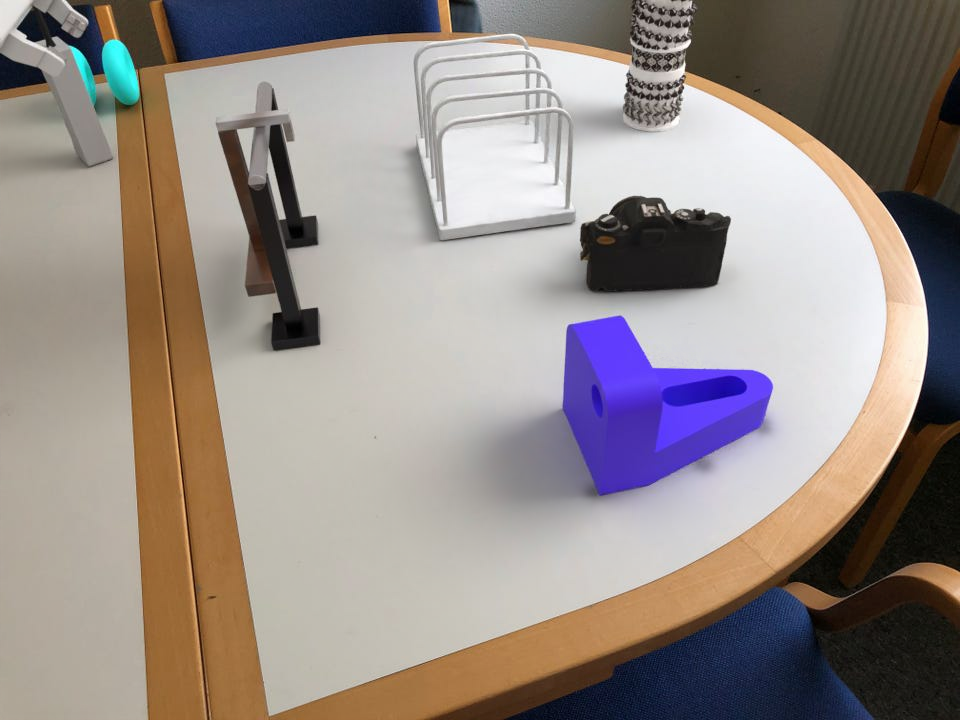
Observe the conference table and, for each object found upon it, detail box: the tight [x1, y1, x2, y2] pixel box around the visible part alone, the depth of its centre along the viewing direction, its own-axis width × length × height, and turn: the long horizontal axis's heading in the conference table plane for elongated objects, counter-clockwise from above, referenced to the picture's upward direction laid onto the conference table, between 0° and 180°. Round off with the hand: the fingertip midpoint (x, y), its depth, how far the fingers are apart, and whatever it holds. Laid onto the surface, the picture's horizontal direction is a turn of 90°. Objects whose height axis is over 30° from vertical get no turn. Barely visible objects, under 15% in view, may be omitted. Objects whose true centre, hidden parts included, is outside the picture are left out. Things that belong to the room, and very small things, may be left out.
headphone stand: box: [214, 108, 296, 298], centre depth 85 cm, size 8×14×17 cm, turn 9°
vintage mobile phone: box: [32, 6, 114, 168], centre depth 109 cm, size 4×5×25 cm
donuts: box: [68, 39, 140, 107], centre depth 127 cm, size 10×10×10 cm
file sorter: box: [413, 33, 577, 241], centre depth 103 cm, size 25×17×16 cm
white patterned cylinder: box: [622, 0, 698, 133], centre depth 112 cm, size 9×9×25 cm
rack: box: [248, 81, 321, 351], centre depth 87 cm, size 5×24×20 cm, turn 9°
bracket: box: [562, 315, 774, 496], centre depth 70 cm, size 18×11×12 cm, turn 103°
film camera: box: [579, 195, 732, 292], centre depth 89 cm, size 18×12×10 cm
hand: (74, 48), depth 76 cm, fingers open, 8 cm apart
